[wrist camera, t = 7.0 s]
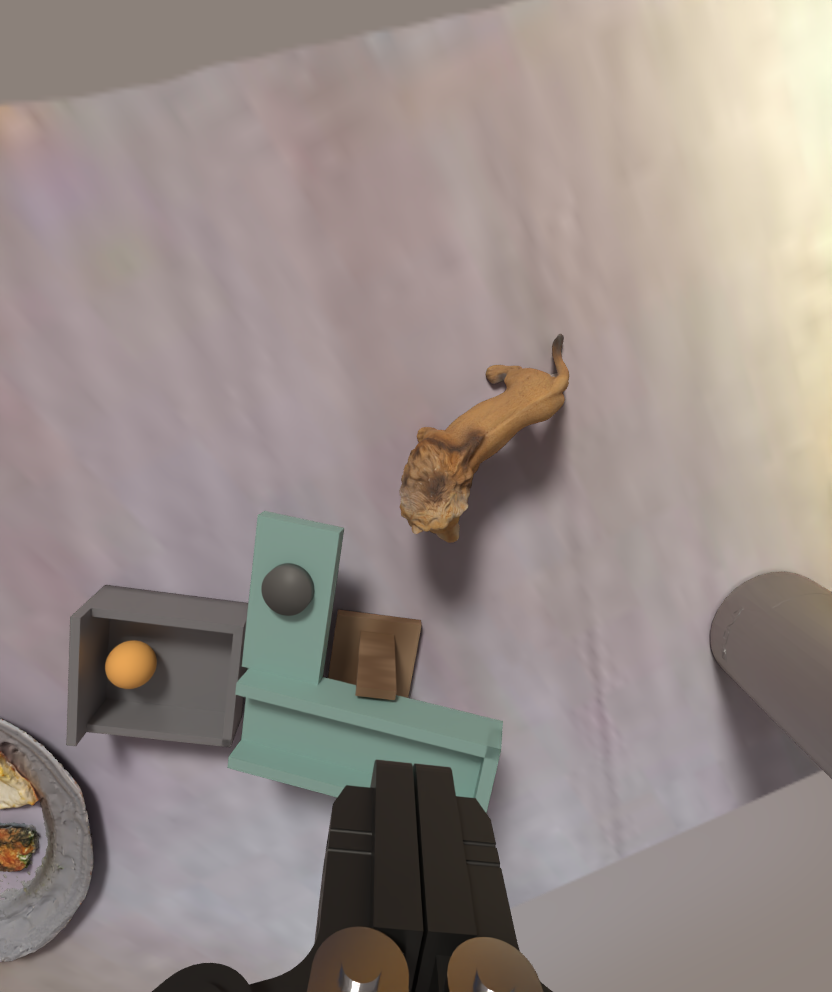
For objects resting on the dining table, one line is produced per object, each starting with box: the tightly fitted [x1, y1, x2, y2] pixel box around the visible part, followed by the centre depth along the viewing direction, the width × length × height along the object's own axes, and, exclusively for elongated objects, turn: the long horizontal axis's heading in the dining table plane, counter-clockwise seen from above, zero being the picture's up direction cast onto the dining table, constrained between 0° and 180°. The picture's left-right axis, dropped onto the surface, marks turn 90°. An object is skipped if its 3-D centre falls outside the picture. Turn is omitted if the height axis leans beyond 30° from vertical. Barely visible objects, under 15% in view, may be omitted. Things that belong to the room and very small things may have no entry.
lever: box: [228, 511, 503, 813], centre depth 37 cm, size 16×16×3 cm
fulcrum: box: [328, 610, 421, 700], centre depth 42 cm, size 6×10×8 cm, turn 171°
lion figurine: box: [399, 334, 569, 543], centre depth 37 cm, size 15×5×9 cm, turn 138°
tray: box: [66, 585, 248, 747], centre depth 42 cm, size 10×9×5 cm
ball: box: [105, 640, 157, 689], centre depth 42 cm, size 3×3×3 cm
